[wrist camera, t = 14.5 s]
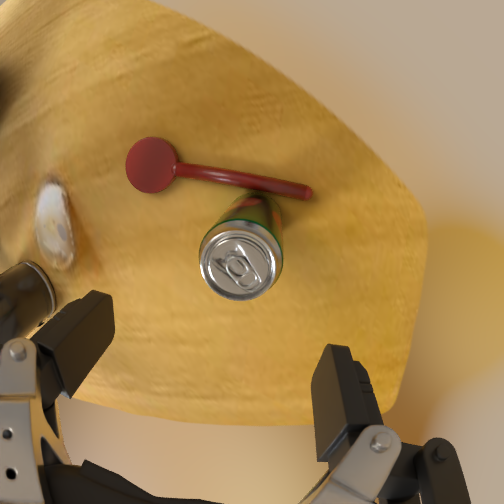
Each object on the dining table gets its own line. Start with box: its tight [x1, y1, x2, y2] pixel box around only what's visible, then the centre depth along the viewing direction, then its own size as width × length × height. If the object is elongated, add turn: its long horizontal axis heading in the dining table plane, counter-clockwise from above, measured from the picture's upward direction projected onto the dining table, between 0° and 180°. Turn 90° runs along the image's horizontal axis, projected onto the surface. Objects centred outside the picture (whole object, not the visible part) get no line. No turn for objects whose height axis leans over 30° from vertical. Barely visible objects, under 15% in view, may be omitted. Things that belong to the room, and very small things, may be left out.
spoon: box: [126, 137, 313, 200], centre depth 25 cm, size 18×6×1 cm, turn 79°
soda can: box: [199, 192, 283, 301], centre depth 21 cm, size 5×5×12 cm
